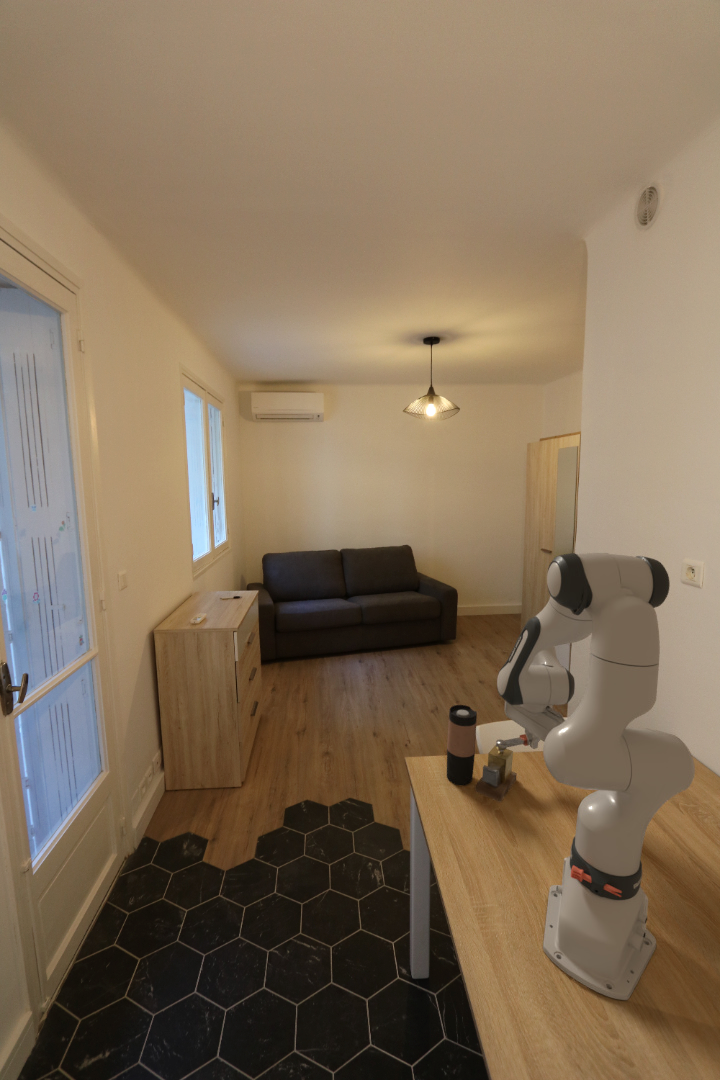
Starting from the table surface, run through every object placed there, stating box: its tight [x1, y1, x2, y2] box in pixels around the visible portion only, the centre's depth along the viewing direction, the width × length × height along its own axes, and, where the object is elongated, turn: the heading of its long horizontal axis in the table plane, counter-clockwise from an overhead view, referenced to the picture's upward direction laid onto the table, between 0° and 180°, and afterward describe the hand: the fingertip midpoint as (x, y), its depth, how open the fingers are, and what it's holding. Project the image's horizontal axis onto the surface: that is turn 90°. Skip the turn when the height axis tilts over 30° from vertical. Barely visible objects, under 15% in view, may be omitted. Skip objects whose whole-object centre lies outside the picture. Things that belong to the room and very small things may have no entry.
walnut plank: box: [474, 771, 518, 803], centre depth 132 cm, size 12×7×2 cm, turn 143°
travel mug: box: [446, 704, 478, 787], centre depth 134 cm, size 8×8×20 cm
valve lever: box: [495, 733, 529, 750], centre depth 134 cm, size 12×3×2 cm, turn 109°
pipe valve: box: [481, 744, 514, 788], centre depth 131 cm, size 11×5×8 cm, turn 143°
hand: (532, 746), depth 133 cm, fingers closed
